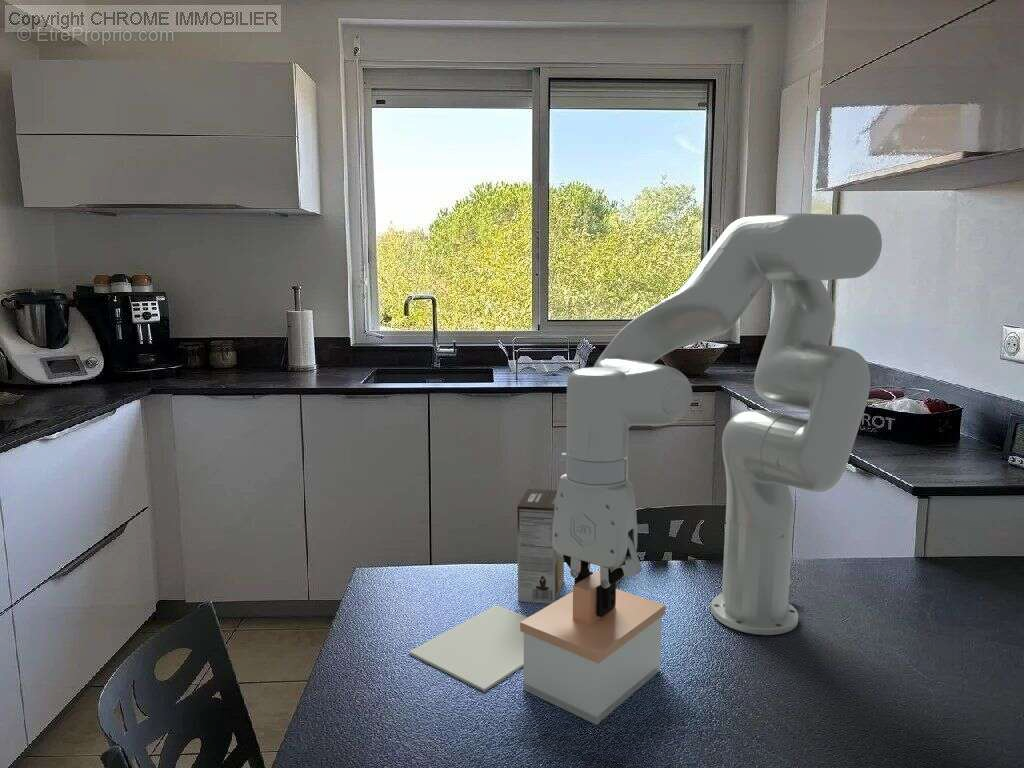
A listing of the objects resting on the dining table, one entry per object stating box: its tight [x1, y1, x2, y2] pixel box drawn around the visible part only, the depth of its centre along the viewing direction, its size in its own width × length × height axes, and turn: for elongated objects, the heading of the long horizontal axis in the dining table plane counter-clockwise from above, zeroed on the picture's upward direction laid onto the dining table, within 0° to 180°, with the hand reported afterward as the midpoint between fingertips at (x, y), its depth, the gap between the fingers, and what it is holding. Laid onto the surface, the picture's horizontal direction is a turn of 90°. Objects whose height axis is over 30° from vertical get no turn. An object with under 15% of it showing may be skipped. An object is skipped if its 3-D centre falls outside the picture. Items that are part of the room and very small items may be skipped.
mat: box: [408, 604, 529, 693], centre depth 103 cm, size 18×14×1 cm
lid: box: [520, 569, 666, 664], centre depth 93 cm, size 16×12×7 cm
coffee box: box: [516, 488, 565, 605], centre depth 119 cm, size 9×6×16 cm
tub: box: [523, 616, 663, 726], centre depth 94 cm, size 15×11×8 cm
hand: (594, 607), depth 93 cm, fingers closed on lid, 2 cm apart
